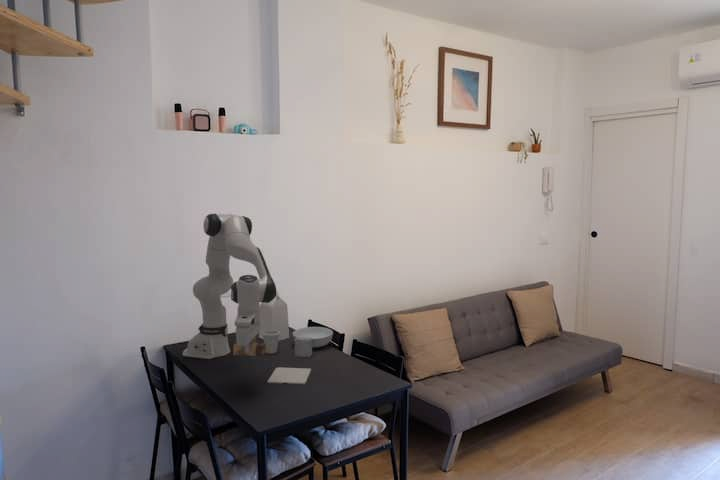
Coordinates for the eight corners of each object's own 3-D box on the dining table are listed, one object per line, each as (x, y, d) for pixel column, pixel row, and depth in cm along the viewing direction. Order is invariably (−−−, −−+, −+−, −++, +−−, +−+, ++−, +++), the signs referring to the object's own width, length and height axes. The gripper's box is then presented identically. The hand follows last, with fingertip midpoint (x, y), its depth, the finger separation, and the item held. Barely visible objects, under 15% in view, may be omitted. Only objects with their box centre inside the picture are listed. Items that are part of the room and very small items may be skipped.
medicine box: (312, 354, 241) (312, 337, 240) (310, 357, 237) (310, 340, 236) (296, 353, 242) (296, 336, 241) (294, 356, 238) (294, 339, 237)
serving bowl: (306, 336, 269) (306, 324, 268) (340, 342, 260) (340, 329, 259) (284, 347, 251) (284, 334, 250) (319, 354, 241) (319, 341, 241)
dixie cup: (271, 355, 239) (271, 335, 238) (259, 352, 243) (258, 332, 242) (283, 350, 246) (283, 331, 245) (270, 347, 250) (270, 328, 249)
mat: (267, 382, 207) (267, 381, 206) (276, 368, 222) (276, 367, 222) (304, 384, 205) (304, 382, 205) (311, 369, 221) (311, 368, 221)
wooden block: (233, 354, 196) (233, 345, 195) (236, 351, 200) (236, 341, 199) (263, 356, 195) (262, 346, 194) (265, 352, 199) (265, 343, 198)
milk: (289, 337, 267) (288, 290, 264) (272, 342, 259) (271, 294, 256) (275, 333, 275) (275, 287, 272) (258, 337, 267) (258, 290, 264)
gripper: (249, 309, 206) (249, 341, 208) (232, 323, 186) (233, 358, 187) (264, 309, 205) (264, 341, 207) (249, 323, 185) (249, 359, 187)
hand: (249, 349), depth 197 cm, fingers closed on wooden block, 4 cm apart
